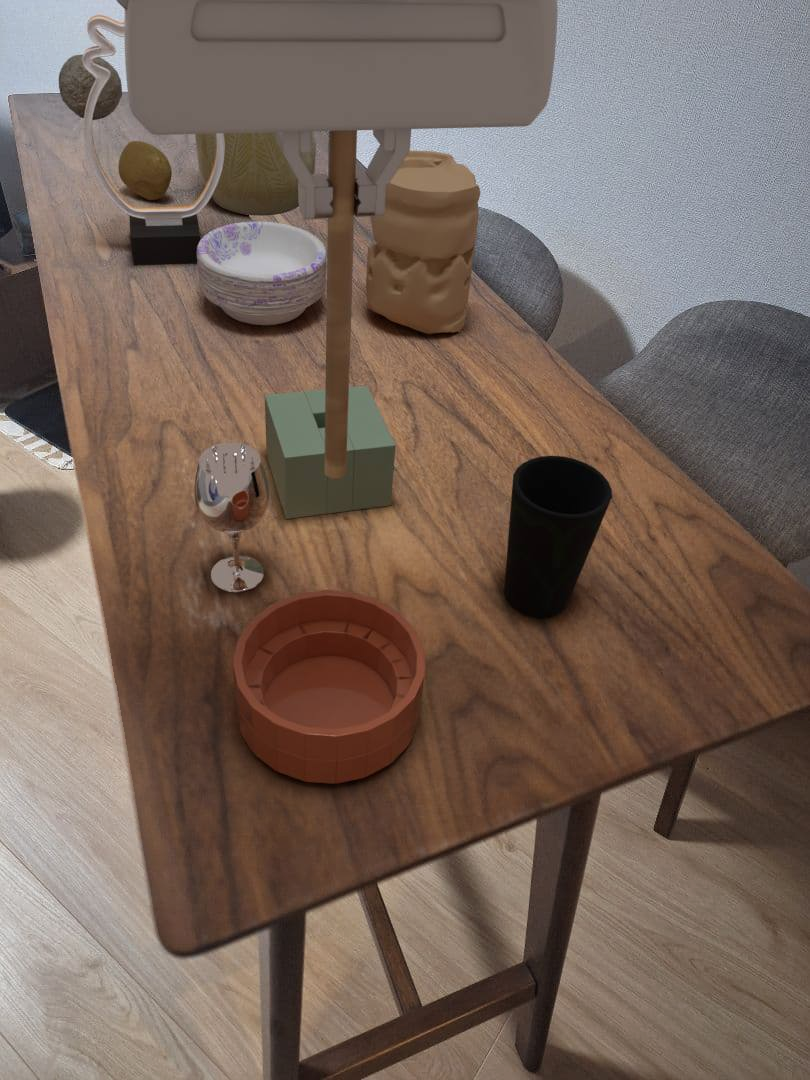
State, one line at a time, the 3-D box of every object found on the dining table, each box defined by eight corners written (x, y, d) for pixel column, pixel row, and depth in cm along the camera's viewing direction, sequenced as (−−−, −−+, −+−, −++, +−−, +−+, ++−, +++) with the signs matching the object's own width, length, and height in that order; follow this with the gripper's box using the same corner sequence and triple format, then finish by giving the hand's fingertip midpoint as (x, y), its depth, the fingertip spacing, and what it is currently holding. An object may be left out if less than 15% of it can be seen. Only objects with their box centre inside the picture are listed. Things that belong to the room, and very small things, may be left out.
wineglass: (267, 600, 75) (262, 486, 67) (197, 595, 75) (184, 480, 67) (275, 553, 80) (272, 440, 72) (209, 548, 79) (198, 435, 72)
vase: (185, 183, 140) (168, -19, 122) (290, 172, 147) (288, -21, 129) (221, 228, 129) (208, 13, 111) (333, 214, 135) (338, 9, 118)
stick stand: (285, 519, 83) (284, 457, 78) (266, 455, 90) (264, 394, 86) (391, 505, 86) (396, 444, 81) (364, 444, 93) (367, 385, 88)
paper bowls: (306, 347, 106) (306, 284, 101) (181, 326, 108) (175, 262, 102) (339, 290, 117) (341, 230, 112) (226, 272, 119) (222, 212, 114)
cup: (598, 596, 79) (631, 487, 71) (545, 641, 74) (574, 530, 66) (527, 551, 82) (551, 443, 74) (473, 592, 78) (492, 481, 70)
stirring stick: (327, 480, 59) (332, 120, 44) (322, 467, 60) (326, 111, 45) (348, 478, 59) (360, 120, 44) (343, 465, 60) (353, 111, 45)
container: (442, 288, 120) (457, 147, 108) (481, 335, 111) (502, 187, 99) (351, 298, 116) (356, 153, 104) (384, 347, 107) (394, 195, 95)
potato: (122, 188, 137) (114, 133, 132) (174, 188, 138) (169, 133, 133) (120, 207, 132) (112, 150, 126) (174, 207, 133) (169, 150, 128)
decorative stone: (62, 126, 155) (51, 62, 148) (66, 110, 161) (55, 48, 154) (125, 127, 157) (117, 63, 150) (126, 111, 163) (118, 49, 156)
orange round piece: (254, 806, 61) (251, 753, 57) (226, 659, 70) (221, 605, 66) (441, 766, 64) (449, 714, 60) (390, 631, 74) (395, 578, 70)
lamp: (227, 234, 128) (211, -29, 107) (233, 261, 121) (218, -11, 100) (102, 237, 124) (60, -34, 103) (101, 266, 118) (57, -16, 97)
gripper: (96, -105, 34) (141, 250, 43) (595, -85, 39) (541, 229, 48) (90, -129, 38) (132, 198, 47) (539, -108, 43) (499, 183, 53)
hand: (341, 213), depth 48 cm, fingers closed on stirring stick, 1 cm apart
